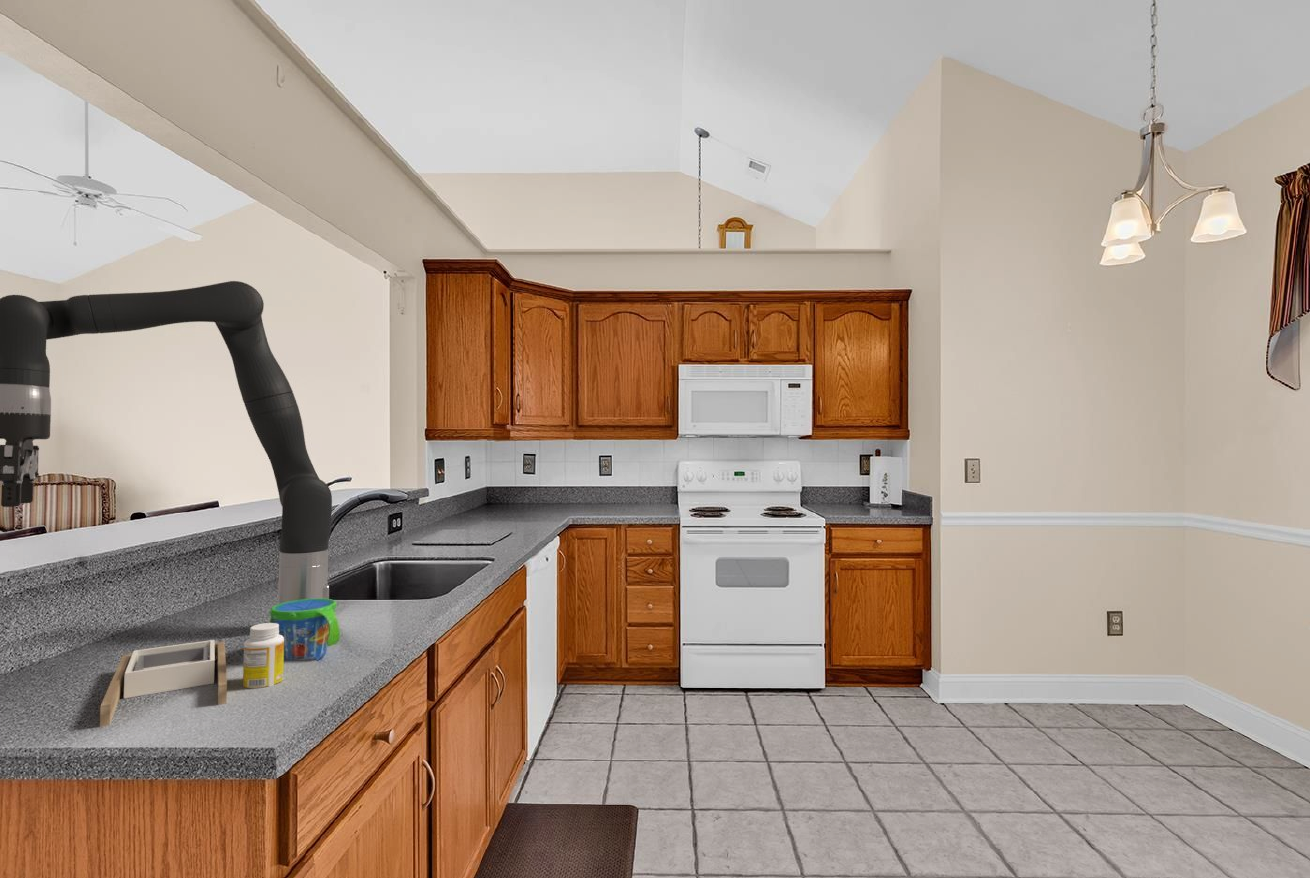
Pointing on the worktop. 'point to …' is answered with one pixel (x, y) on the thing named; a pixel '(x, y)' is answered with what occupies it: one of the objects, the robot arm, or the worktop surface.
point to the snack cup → (306, 627)
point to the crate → (170, 668)
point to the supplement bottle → (263, 656)
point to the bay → (118, 679)
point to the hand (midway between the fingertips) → (17, 504)
